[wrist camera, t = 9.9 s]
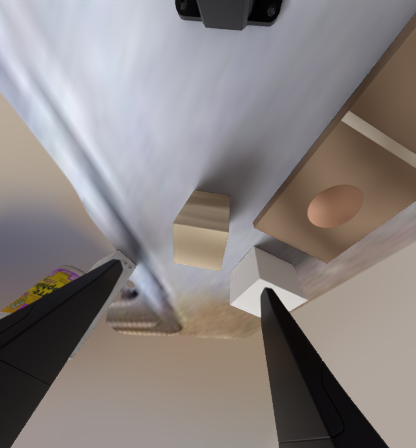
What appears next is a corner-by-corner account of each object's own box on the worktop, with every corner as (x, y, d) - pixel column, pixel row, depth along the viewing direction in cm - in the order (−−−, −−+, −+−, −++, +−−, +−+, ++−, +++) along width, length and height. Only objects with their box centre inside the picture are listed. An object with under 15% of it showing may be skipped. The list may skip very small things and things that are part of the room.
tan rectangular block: (194, 190, 16) (172, 223, 10) (230, 195, 16) (228, 232, 10) (192, 220, 19) (173, 262, 13) (224, 226, 18) (220, 271, 12)
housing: (253, 246, 19) (259, 278, 15) (292, 264, 20) (307, 300, 16) (230, 272, 22) (229, 304, 18) (264, 287, 23) (271, 321, 19)
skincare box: (117, 248, 23) (27, 340, 13) (138, 266, 25) (73, 360, 15) (97, 260, 26) (7, 346, 15) (117, 276, 27) (48, 363, 17)
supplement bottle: (91, 270, 27) (-1, 361, 17) (94, 290, 31) (21, 374, 20) (55, 259, 27) (-63, 343, 16) (63, 280, 31) (-29, 360, 20)
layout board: (584, -204, 6) (664, -280, 5) (714, -40, 7) (802, -71, 6) (253, 222, 17) (254, 227, 16) (321, 256, 19) (327, 263, 17)
